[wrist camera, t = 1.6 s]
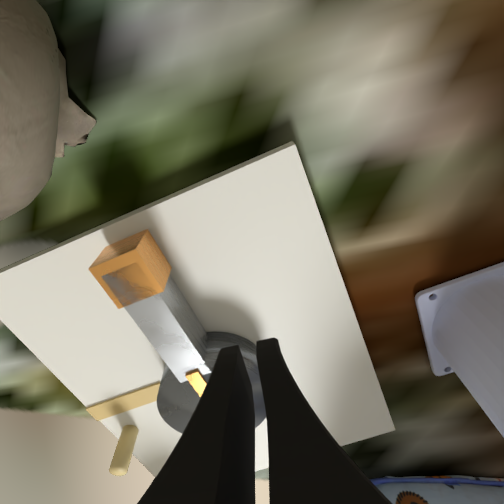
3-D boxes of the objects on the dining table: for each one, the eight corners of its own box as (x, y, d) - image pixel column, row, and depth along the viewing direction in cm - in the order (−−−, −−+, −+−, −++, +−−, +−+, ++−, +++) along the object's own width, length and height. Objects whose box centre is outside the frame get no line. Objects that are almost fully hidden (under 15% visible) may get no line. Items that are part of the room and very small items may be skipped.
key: (282, 388, 24) (287, 423, 22) (194, 417, 25) (190, 453, 23) (185, 211, 18) (176, 232, 15) (72, 259, 19) (48, 287, 16)
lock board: (292, 141, 17) (306, 156, 14) (390, 419, 28) (412, 468, 24) (-20, 277, 20) (-75, 320, 17) (175, 483, 31) (167, 536, 27)
